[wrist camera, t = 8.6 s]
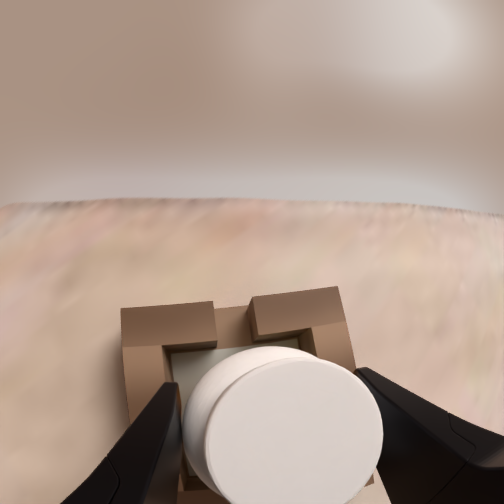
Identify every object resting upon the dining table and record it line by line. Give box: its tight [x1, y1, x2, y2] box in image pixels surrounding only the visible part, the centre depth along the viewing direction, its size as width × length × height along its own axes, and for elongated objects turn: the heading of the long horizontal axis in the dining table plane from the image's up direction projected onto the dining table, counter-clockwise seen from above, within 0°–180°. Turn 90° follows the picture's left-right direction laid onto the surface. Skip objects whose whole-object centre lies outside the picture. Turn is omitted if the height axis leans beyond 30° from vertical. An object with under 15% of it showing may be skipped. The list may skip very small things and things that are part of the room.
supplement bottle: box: [182, 346, 383, 504], centre depth 10 cm, size 5×5×10 cm
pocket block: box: [121, 286, 374, 504], centre depth 14 cm, size 12×12×4 cm
